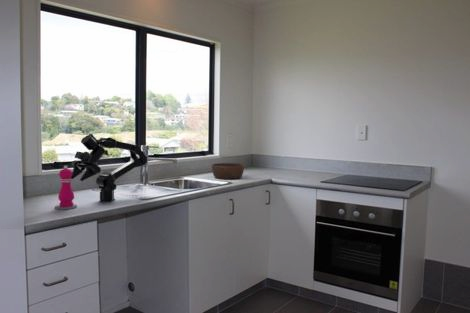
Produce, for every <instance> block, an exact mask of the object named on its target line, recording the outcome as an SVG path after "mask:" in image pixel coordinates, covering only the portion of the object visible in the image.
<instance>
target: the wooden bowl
mask: <svg viewBox="0 0 470 313" xmlns="http://www.w3.org/2000/svg"><path fill="white" fill-rule="evenodd" d="M211 169H212V174H213V177H214V178H215V179H218V180H238V178H239V179H241V178H242V177H243V175H244V169H245V164H242V163H233V162H219V163H212V164H211Z"/></svg>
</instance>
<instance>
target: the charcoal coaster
mask: <svg viewBox="0 0 470 313" xmlns="http://www.w3.org/2000/svg"><path fill="white" fill-rule="evenodd" d="M77 207H78V206H77V204H75V203H73V206H71V207H60V204H57V205H55V206H54V209H55V210H58V211H59V210H60V211H66V210H74V209H77Z"/></svg>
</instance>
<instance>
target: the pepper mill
mask: <svg viewBox="0 0 470 313" xmlns="http://www.w3.org/2000/svg"><path fill="white" fill-rule="evenodd" d="M72 172H73V170H71V169H69V168H68V165H64V166H63V169H61V170H60V171H59V172H58V174H59V178H60V179H59V180H60V183H61V186H60V190H59V193H58V197H57V198H58V200H59V205H60V207H71V206H73V204H74V202H73V201H74V199H75V194H74V191H73V188H72V186H71V185H72V184H71V182H72V179H71V177H72Z"/></svg>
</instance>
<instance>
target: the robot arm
mask: <svg viewBox="0 0 470 313" xmlns="http://www.w3.org/2000/svg"><path fill="white" fill-rule="evenodd" d="M80 142H81V144H82V145H83V146H84V147H85V148H86V149H87V150H88V151H83V152H82V151H76V152H75V155H74V158H75V159H78V160H73V161H72V162H71V166H72V168H73V170H72V177H71V180H73V179H75V178H76V177H78V176H79V175H81V174H82V173H83V175H81V177H80V179H79V180H80V181H81V182H84V181H85V180H88V178H89V179H90V178H91V177H93V176H96V175H97V174H98V176H97V177H96V180H95V183H96V185H97V187H98V189H99V190H100V192H99V202H109V203H110V202H114V201H115V200H116V198H115V191H116V189H117V185H116V184H115V182H116V180H118V179H119V178H120V177H122V176H124V175H125V174H127V173H129V172H130V171H132V170H134V169H135V168H139V167H143V166H145V165H146V164H147V163H148V157H147V155H146V154H145V153H144V151H143V150H141V148H140V147H139V145H137V144H136V143H134V144H133V143H127V142H123V141H118V140H116V139H115V138H113V137H109V136H108V137H107V136H106V137H105V136H102V137H99V139H97V138H96V137H95V135H93V133H89V134H87V135H86V136H84V137H82V139H80ZM107 149H120V150H126V151H129V156H130V159H129V160H128V162H126V163H125V164H123V165H121V166H119V167H118V168H116V169H114V170H112V171H111V172H109V171H108V172H107V171H104V172H102V168H101V167H100V166H99V165H98V164H99V163H100V162H101V161H100V160H101V159H102V158H103V156H109V150H107ZM89 151H91V152H89ZM83 171H84V172H83ZM101 172H102V173H101ZM100 173H101V174H100Z"/></svg>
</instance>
